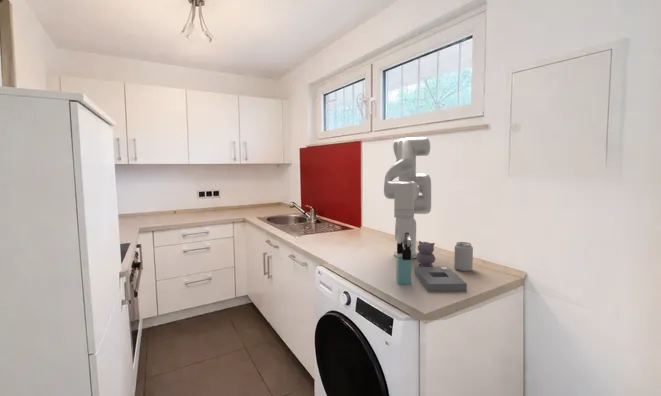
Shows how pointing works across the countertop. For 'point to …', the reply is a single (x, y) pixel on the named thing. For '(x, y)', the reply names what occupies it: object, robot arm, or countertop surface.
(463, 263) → the can
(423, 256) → the cat figurine
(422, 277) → the socket
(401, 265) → the plug
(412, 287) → the countertop surface
